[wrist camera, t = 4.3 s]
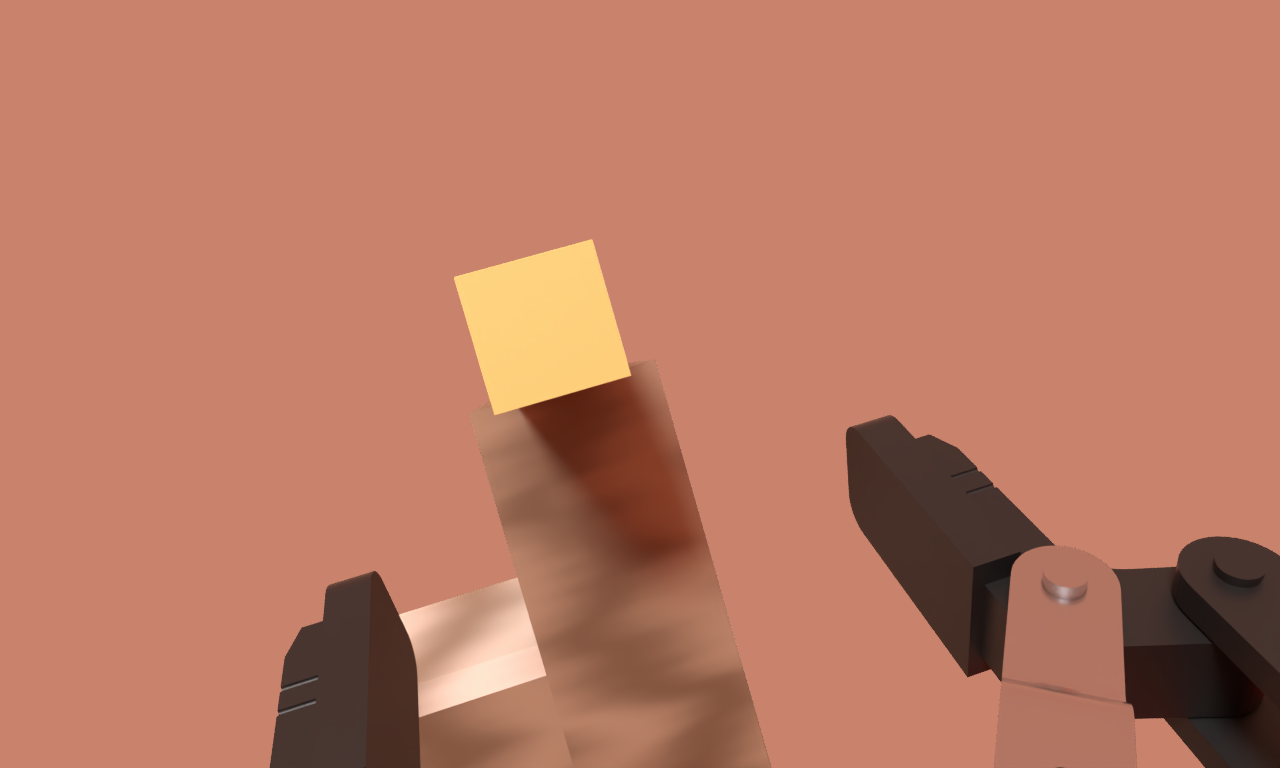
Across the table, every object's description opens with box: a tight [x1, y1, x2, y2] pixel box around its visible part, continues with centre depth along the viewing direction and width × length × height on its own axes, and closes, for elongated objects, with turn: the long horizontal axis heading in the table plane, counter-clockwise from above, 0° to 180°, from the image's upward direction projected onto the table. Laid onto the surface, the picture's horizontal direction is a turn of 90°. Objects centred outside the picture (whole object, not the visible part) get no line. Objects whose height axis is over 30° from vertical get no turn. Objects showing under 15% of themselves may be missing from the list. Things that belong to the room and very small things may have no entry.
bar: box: [454, 240, 631, 415], centre depth 27 cm, size 5×18×4 cm, turn 6°
